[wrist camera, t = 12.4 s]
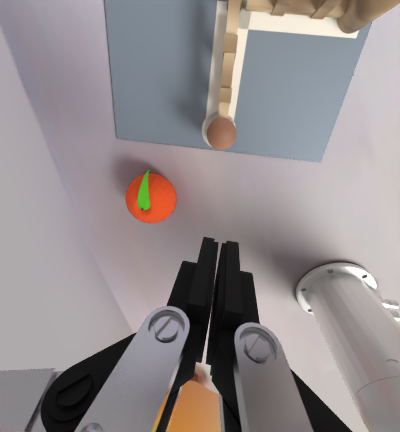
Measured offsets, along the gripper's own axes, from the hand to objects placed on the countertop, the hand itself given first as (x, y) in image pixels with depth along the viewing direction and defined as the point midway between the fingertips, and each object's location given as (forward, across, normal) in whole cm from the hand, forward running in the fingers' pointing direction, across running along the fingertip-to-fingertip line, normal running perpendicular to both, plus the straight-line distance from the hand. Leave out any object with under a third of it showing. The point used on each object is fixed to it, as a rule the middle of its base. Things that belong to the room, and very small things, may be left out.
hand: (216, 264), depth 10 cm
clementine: (+21, +10, +3) cm, 23 cm away
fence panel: (+20, +2, -10) cm, 22 cm away
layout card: (+20, +2, -14) cm, 25 cm away
